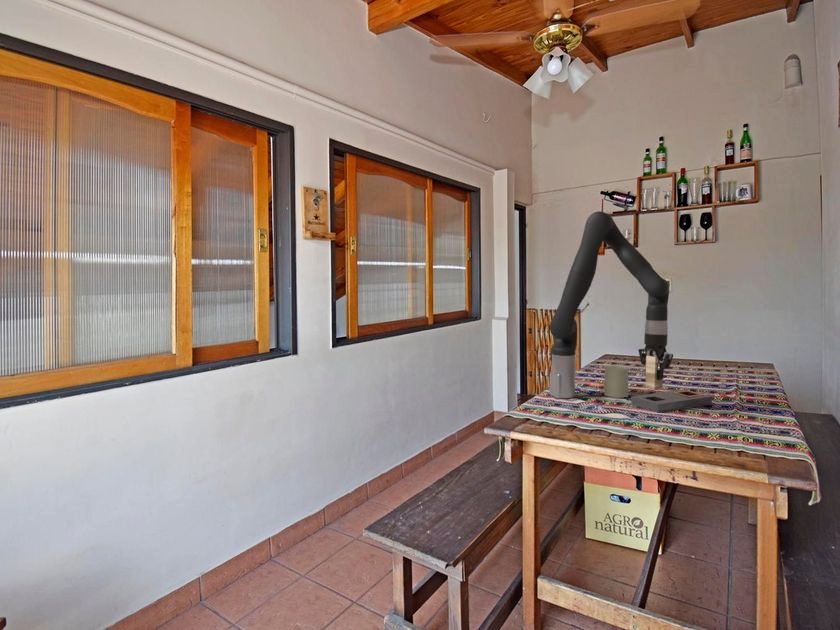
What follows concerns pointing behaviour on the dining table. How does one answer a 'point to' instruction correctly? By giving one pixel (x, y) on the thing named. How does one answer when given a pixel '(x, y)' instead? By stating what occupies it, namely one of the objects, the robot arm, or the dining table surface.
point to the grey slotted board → (671, 400)
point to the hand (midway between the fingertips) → (654, 378)
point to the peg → (652, 374)
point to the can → (616, 381)
